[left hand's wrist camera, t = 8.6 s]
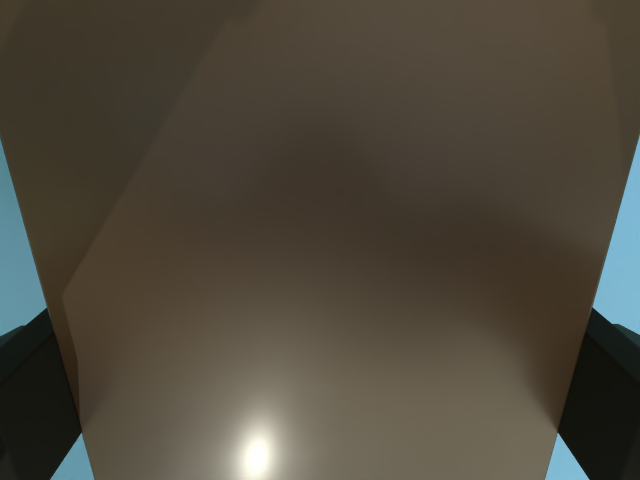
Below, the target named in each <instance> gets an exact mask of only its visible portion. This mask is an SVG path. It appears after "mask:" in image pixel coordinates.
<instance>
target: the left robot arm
mask: <svg viewBox="0 0 640 480" xmlns="http://www.w3.org/2000/svg"><path fill="white" fill-rule="evenodd" d="M81 433H82V432H81V428H80V425H79V421H78V418H77V414H76V410H75V407H74V403H73V399H72V396H71V392H70V389H69V385H68V381H67V378H66V374H65V370H64V367H63V363H62V360H61V356H60V352H59V349H58V345H57V341H56V338H55V334H54V331H53V327H52V323H51V320H50V316H49V312H48V309H47V308H46V309H45V310H43V311H42V312H41V313H40V314H39V315H38V316H36V317H35V318H34V319H33V320H32V321H31V322H29V323H28V324H27V325H26V326H19V327H18V328H16V329H14V330H12V331H10V332H8V333H6V334H4V335H2V336H0V480H50V479H51V477H52V476H53V474H54V473H55V471H56V470H57V468H58V467H59V465H60V464H61V462H62V461H63V459H64V458H65V456H66V455H67V453H68V452H69V450H70V449H71V448H72V446H73V445H74V443H75V442H76V440H77V439H78V437H79V436H80V434H81ZM558 433H559V435H560V436H561V438H562V439H563V441H564V442H565V444H566V445H567V447H568V448H569V450H570V451H571V453H572V454H573V456H574V457H575V459H576V460H577V462H578V463H579V465H580V466H581V468H582V469H583V471H584V472H585V474H586V475H587V477H588V478H589V480H640V335H639V334H637V333H635V332H633V331H631V330H629V329H627V328H625V327H623V326H621V325H619V324H611V323H610V322H609V321H608V320H607V319H605V318H604V317H603V316H602V315H601V314H600V313H598V312H597V311H596V310H595V309H594V308H592V310H591V314H590V317H589V321H588V324H587V328H586V332H585V335H584V339H583V343H582V346H581V350H580V354H579V357H578V361H577V364H576V368H575V372H574V375H573V379H572V383H571V386H570V390H569V393H568V397H567V401H566V404H565V408H564V412H563V415H562V419H561V423H560V426H559V430H558Z"/></svg>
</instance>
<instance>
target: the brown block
mask: <svg viewBox="0 0 640 480" xmlns="http://www.w3.org/2000/svg"><path fill="white" fill-rule="evenodd" d="M639 135H640V0H0V138H1V142H2V146H3V149H4V153H5V157H6V160H7V164H8V167H9V171H10V175H11V178H12V182H13V186H14V189H15V193H16V196H17V200H18V204H19V207H20V211H21V215H22V218H23V222H24V225H25V229H26V233H27V236H28V240H29V244H30V247H31V251H32V254H33V258H34V262H35V265H36V269H37V273H38V276H39V280H40V283H41V287H42V291H43V294H44V298H45V302H46V305H47V309H48V312H49V316H50V320H51V323H52V327H53V331H54V334H55V338H56V341H57V345H58V349H59V352H60V356H61V360H62V363H63V367H64V370H65V374H66V378H67V381H68V385H69V389H70V392H71V396H72V399H73V403H74V407H75V410H76V414H77V418H78V421H79V425H80V428H81V432H82V436H83V439H84V443H85V446H86V450H87V454H88V457H89V461H90V465H91V468H92V472H93V475H94V479H95V480H545V477H546V473H547V470H548V466H549V463H550V459H551V455H552V452H553V448H554V444H555V441H556V437H557V433H558V430H559V426H560V423H561V419H562V415H563V412H564V408H565V404H566V401H567V397H568V393H569V390H570V386H571V383H572V379H573V375H574V372H575V368H576V364H577V361H578V357H579V354H580V350H581V346H582V343H583V339H584V335H585V332H586V328H587V324H588V321H589V317H590V314H591V310H592V306H593V303H594V299H595V295H596V292H597V288H598V284H599V281H600V277H601V274H602V270H603V266H604V263H605V259H606V255H607V252H608V248H609V244H610V241H611V237H612V234H613V230H614V226H615V223H616V219H617V215H618V212H619V208H620V205H621V201H622V197H623V194H624V190H625V186H626V183H627V179H628V175H629V172H630V168H631V165H632V161H633V157H634V154H635V150H636V146H637V143H638V139H639Z"/></svg>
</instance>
